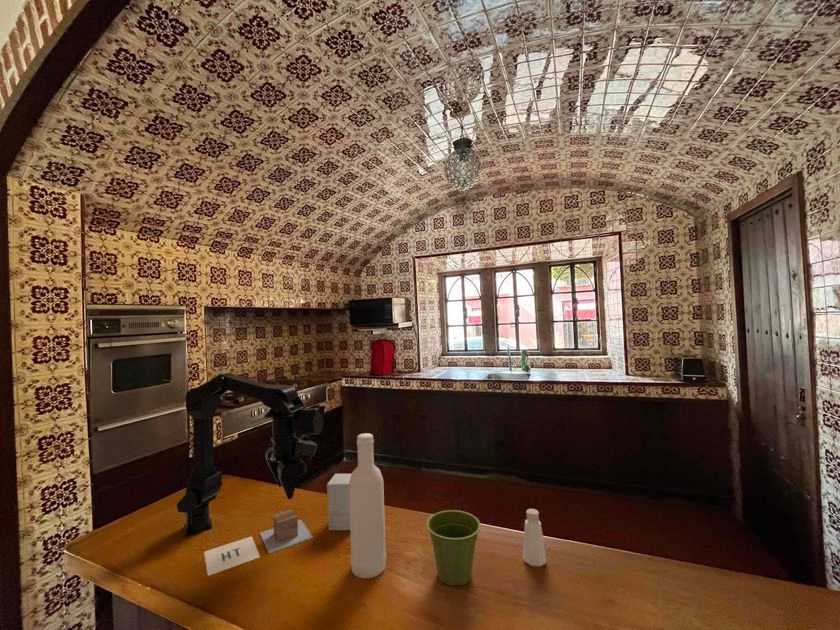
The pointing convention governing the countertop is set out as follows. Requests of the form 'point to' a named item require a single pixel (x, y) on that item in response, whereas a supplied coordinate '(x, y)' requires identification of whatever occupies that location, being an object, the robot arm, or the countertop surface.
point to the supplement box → (339, 502)
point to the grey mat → (274, 546)
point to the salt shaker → (533, 540)
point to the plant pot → (454, 544)
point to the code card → (230, 555)
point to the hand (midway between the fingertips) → (285, 492)
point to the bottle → (367, 513)
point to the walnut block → (285, 525)
